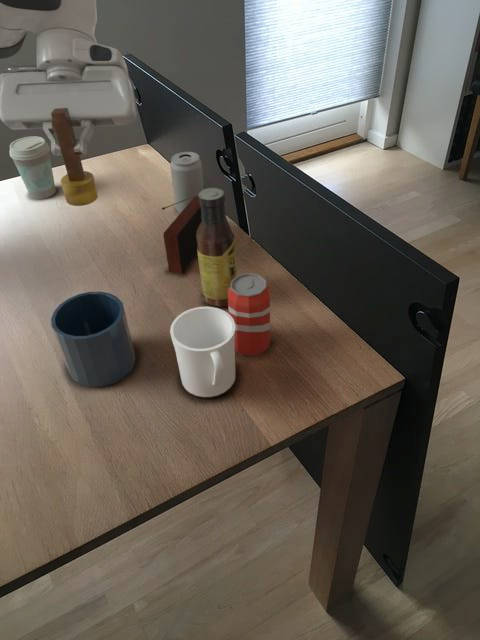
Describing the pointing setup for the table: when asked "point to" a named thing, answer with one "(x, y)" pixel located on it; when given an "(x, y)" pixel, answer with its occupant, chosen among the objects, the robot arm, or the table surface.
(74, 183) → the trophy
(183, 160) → the beverage can
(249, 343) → the beverage can
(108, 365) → the blue bin
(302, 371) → the table surface
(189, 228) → the radio
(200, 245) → the sauce bottle
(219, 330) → the mug
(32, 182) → the coffee cup
